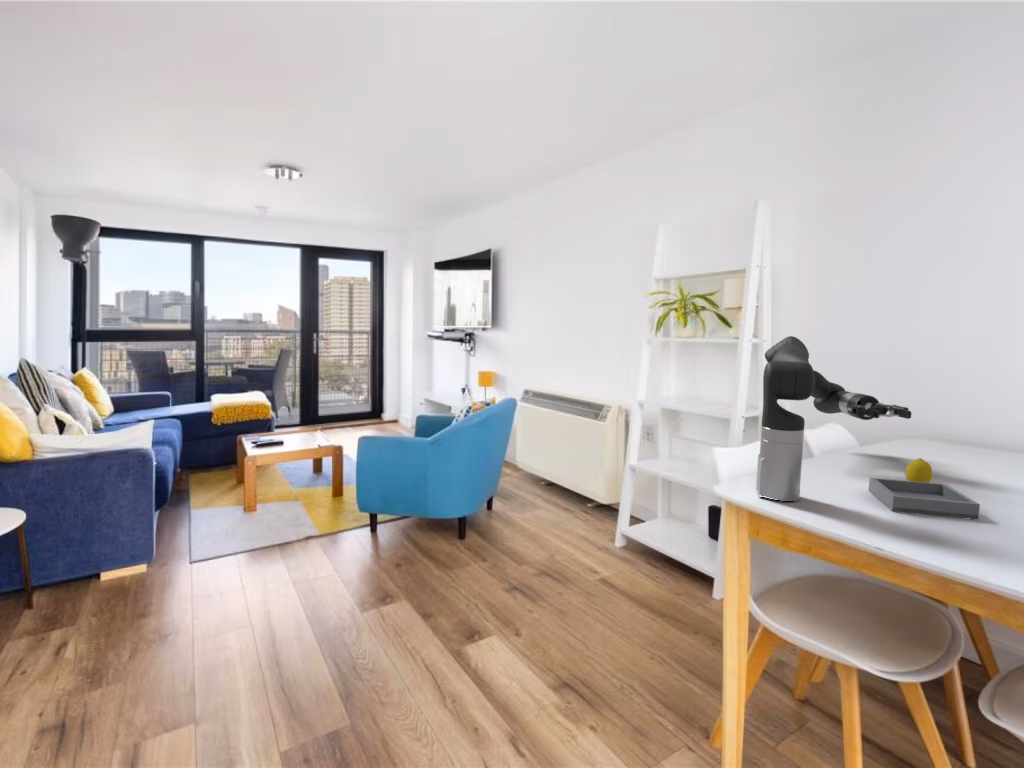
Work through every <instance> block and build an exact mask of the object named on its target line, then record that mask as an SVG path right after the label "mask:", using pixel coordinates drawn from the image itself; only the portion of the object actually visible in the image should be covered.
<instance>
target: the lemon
mask: <svg viewBox="0 0 1024 768" xmlns="http://www.w3.org/2000/svg"><path fill="white" fill-rule="evenodd" d="M904 474H905V479H906V481H918V482H930V483H931V481H932V478H933V470H932V466H931V465H930V464H929V462H927V461H926V460H924V459H923V458H922V457H918V458H917V459H913V460H911V461H910V462H908V463H907V465H906V468H905V473H904Z"/></svg>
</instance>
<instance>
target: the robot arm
mask: <svg viewBox="0 0 1024 768" xmlns="http://www.w3.org/2000/svg"><path fill="white" fill-rule="evenodd" d="M809 358H810V353H809V350H808V348H807V346H806V345H805V343H804V342H803V341H801V339H799V338H797V337H795V336H791V335H790V336H789V335H788V336H786V337H785V338H783V339H781V340H780V341H779V342H776V344H773V346H771V347H770V348H769V349H767V350H766V351H765V352H764V359H765V361H766V362H767V363H766V364H765V367H764V370H763V378H762V379H763V380H762V381H763V382H762V385H763V387H762V390H763V391H762V394H763V395H762V396H763V397H762V402H763V403H762V416H761V426H760V429H761V430H760V432H761V433H760V444H759V445H760V446H759V447H760V448H759V453H758V455H757V467H756V468H757V471H756V487H755V490H756V489H757V491H758V493H759V495H761V496H766V497H769V498H773V499H777V500H782V501H794V502H797V501H799V500H800V496H801V494H800V493H801V479H802V464H803V452H804V451H803V449H804V435H805V425H806V424H805V418H804V417H803V416H801V415H799V414H797V413H794V412H791V411H789V410H788V409H785V408H784V407H782V406H781V405H780V404H779V403H778V400H781V401H782V400H784V401H806V400H807V399H809V398H810V397H812V398H814V399H813V406H814V408H815V409H816V410H817V411H819V412H820V413H824V414H831V415H832V414H838V413H839V414H840V413H842V414H845V415H847V416H849V417H853V418H856V419H859V420H862V421H863V420H864V421H869V420H873V419H879V418H880V417H886V418H892V417H899V418H904V419H907V420H909V419H911V418H912V411H911V410H909V407H907V406H899V405H896V404H885V403H882V402H880V401H879V400H878V399H877V398H876V397H874V396H873V395H869V394H863V393H859V392H852V391H847V390H846V389H845V388H844V387H843V386H842V385H840V384H838V383H835V382H831V381H829V380H828V379H826V377H824V376H823V374H822V373H820V372H819V371H816V370H815V369H814V368H813V367H812V364H810V361H809ZM888 412H889V414H887V413H888ZM757 491H756V492H757ZM782 501H781V502H782Z"/></svg>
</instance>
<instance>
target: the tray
mask: <svg viewBox="0 0 1024 768" xmlns="http://www.w3.org/2000/svg"><path fill="white" fill-rule="evenodd" d="M868 483H869V484H868V492H869V493H871V494H872V495H873V496H874V498H876V499H877V500H878V501H880V502H881V503H882V504H883V505H884V506H885V507H886V508H888V510H890V511H891V512H896V513H905V514H906V513H907V514H914V515H916V514H917V515H927V516H936V517H944V516H945V518H947V517H948V518H954V517H955V518H956V519H964V518H970V519H969V520H974V519H978V520H979V516H980V509H981V508H980V506H981V504H980V503H978V502H977V501H975V500H973V499H972V498H970V497H968V496H967V495H965V494H963V493H961V492H960V491H959V490H956V489H954V487H951V486H950V485H948V484H946V483H942V482H941V483H940V482H931V481H930V482H918V481H908V480H907V479H906V480H904V479H892V478H881V477H869V479H868Z"/></svg>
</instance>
